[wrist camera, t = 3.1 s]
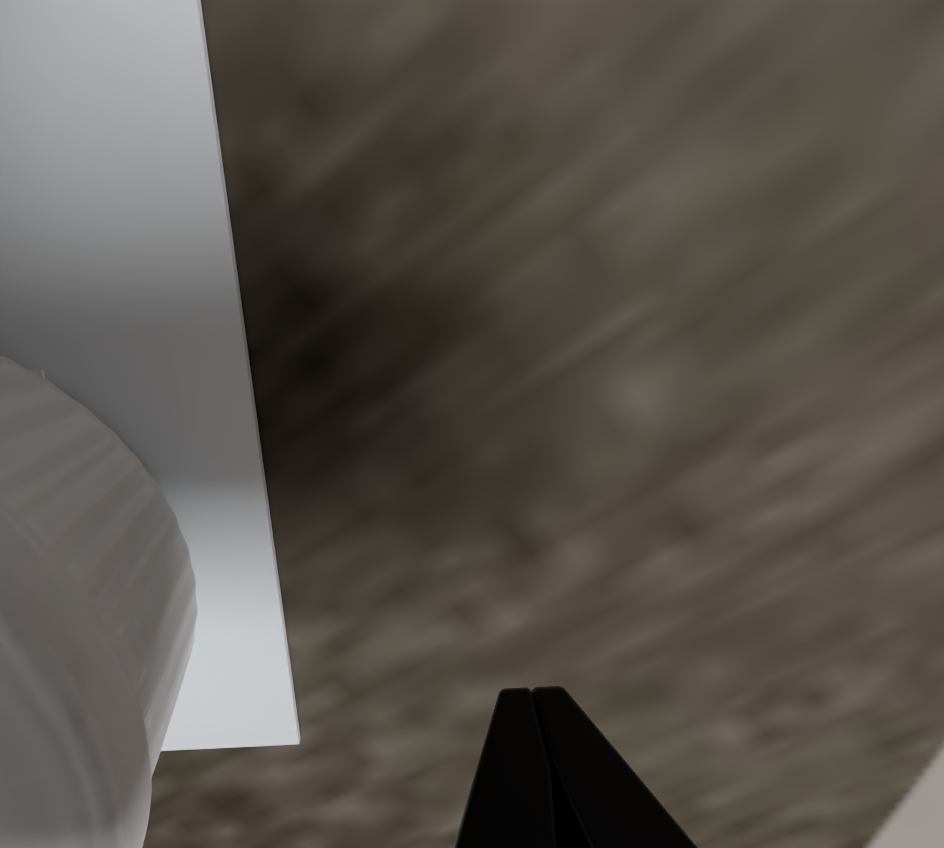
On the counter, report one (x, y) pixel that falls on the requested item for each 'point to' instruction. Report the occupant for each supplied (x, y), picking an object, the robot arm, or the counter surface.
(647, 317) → the counter surface
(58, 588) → the ramekin
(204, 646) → the panel
